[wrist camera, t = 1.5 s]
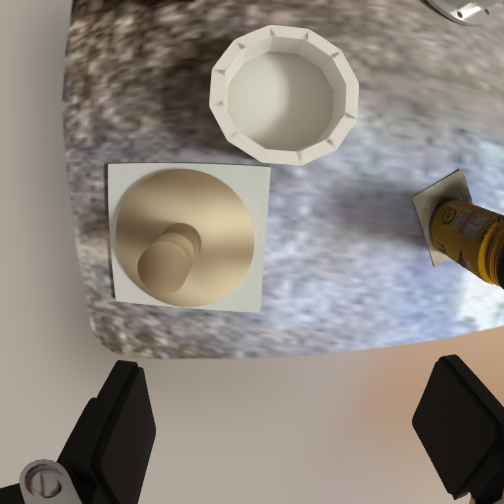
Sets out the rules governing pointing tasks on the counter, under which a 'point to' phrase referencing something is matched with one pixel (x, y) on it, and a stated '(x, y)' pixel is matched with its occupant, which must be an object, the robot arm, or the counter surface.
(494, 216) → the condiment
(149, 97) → the counter surface
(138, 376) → the robot arm
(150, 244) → the lid
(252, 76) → the bowl
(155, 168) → the mat
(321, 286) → the counter surface
